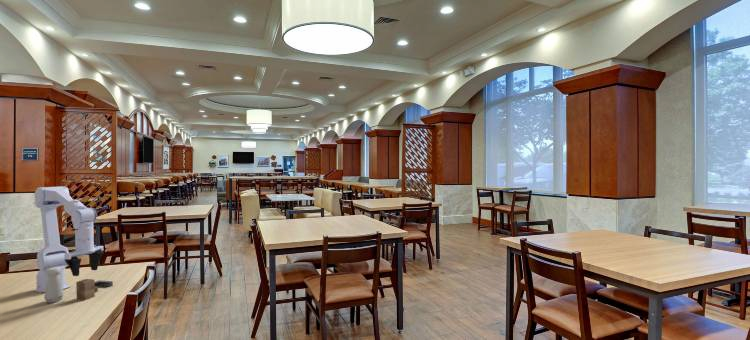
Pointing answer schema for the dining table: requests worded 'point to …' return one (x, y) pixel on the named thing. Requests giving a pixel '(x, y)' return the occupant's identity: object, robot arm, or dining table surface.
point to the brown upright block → (85, 289)
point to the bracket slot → (102, 284)
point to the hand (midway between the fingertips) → (85, 272)
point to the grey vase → (53, 286)
